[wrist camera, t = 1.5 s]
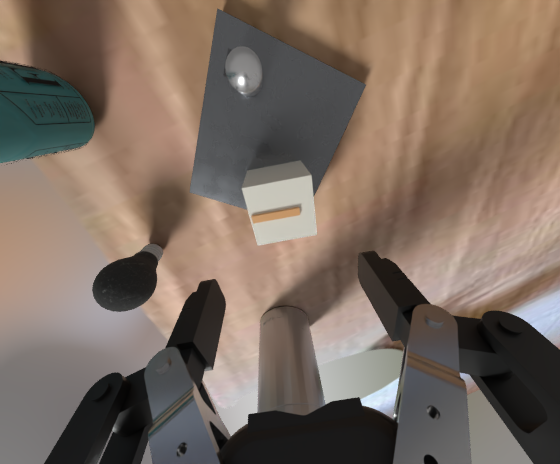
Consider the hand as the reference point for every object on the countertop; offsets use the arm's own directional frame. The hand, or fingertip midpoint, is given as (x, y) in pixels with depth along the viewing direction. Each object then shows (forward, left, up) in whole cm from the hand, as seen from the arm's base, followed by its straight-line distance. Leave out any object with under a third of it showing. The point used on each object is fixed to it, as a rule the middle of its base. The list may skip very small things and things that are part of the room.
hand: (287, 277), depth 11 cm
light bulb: (+2, +19, -16) cm, 25 cm away
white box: (0, 0, -15) cm, 15 cm away
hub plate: (+5, -2, -16) cm, 17 cm away
